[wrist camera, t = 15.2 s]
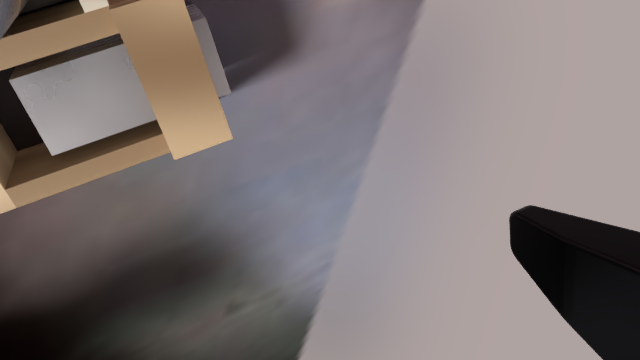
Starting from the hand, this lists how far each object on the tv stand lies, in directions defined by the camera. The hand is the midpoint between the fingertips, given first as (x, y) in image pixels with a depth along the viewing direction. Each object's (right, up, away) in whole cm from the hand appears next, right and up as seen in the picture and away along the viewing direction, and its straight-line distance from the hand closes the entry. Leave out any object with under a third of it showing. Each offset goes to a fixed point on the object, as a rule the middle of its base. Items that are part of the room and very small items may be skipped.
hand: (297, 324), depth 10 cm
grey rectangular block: (-7, +7, +9) cm, 13 cm away
